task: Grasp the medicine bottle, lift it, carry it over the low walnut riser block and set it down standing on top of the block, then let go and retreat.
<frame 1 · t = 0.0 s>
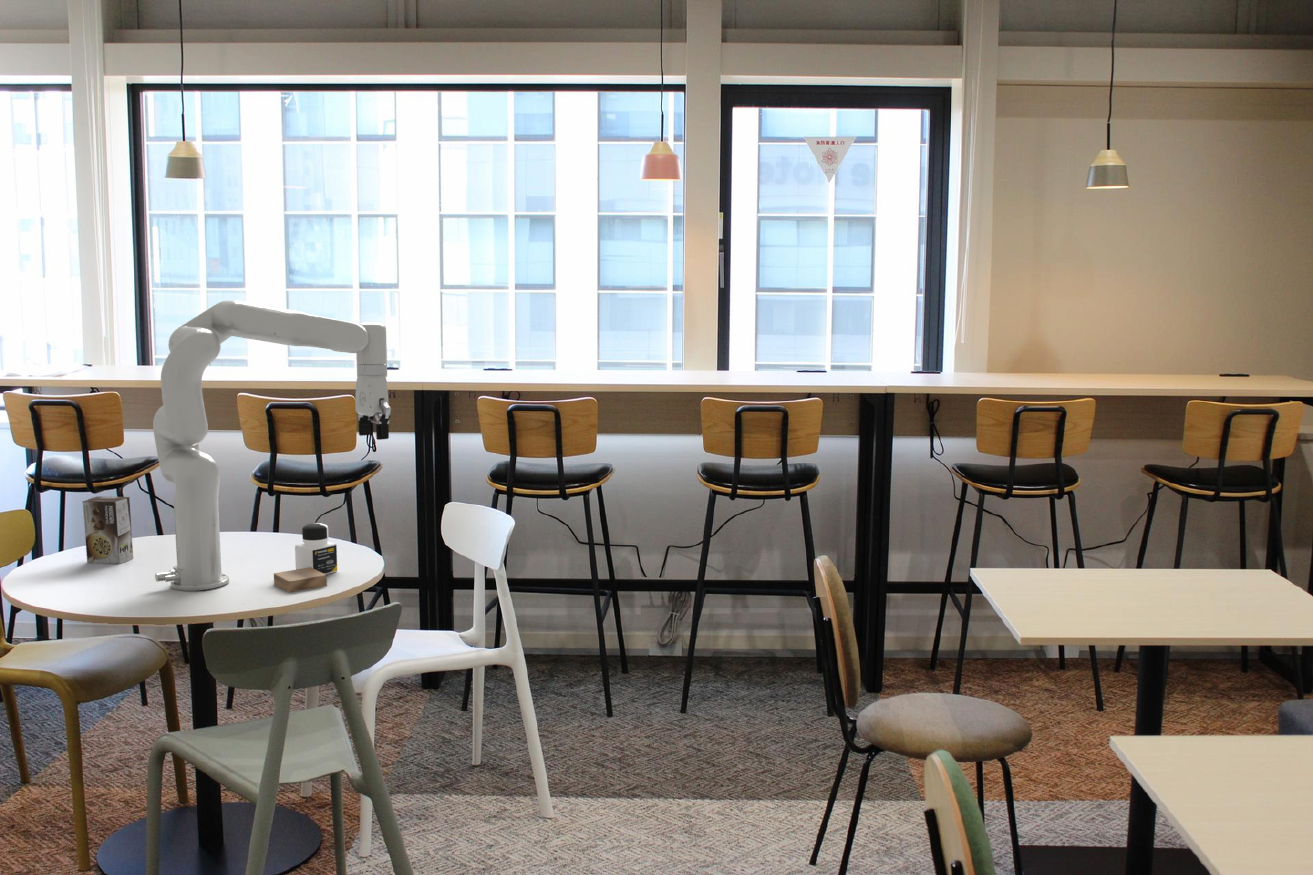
hand: (373, 437, 279), 31 cm above the table, fingers open, 9 cm apart
walnut riser block: (300, 586, 254), on the table
coffee box: (110, 561, 275), on the table
medicine bottle: (316, 573, 265), on the table
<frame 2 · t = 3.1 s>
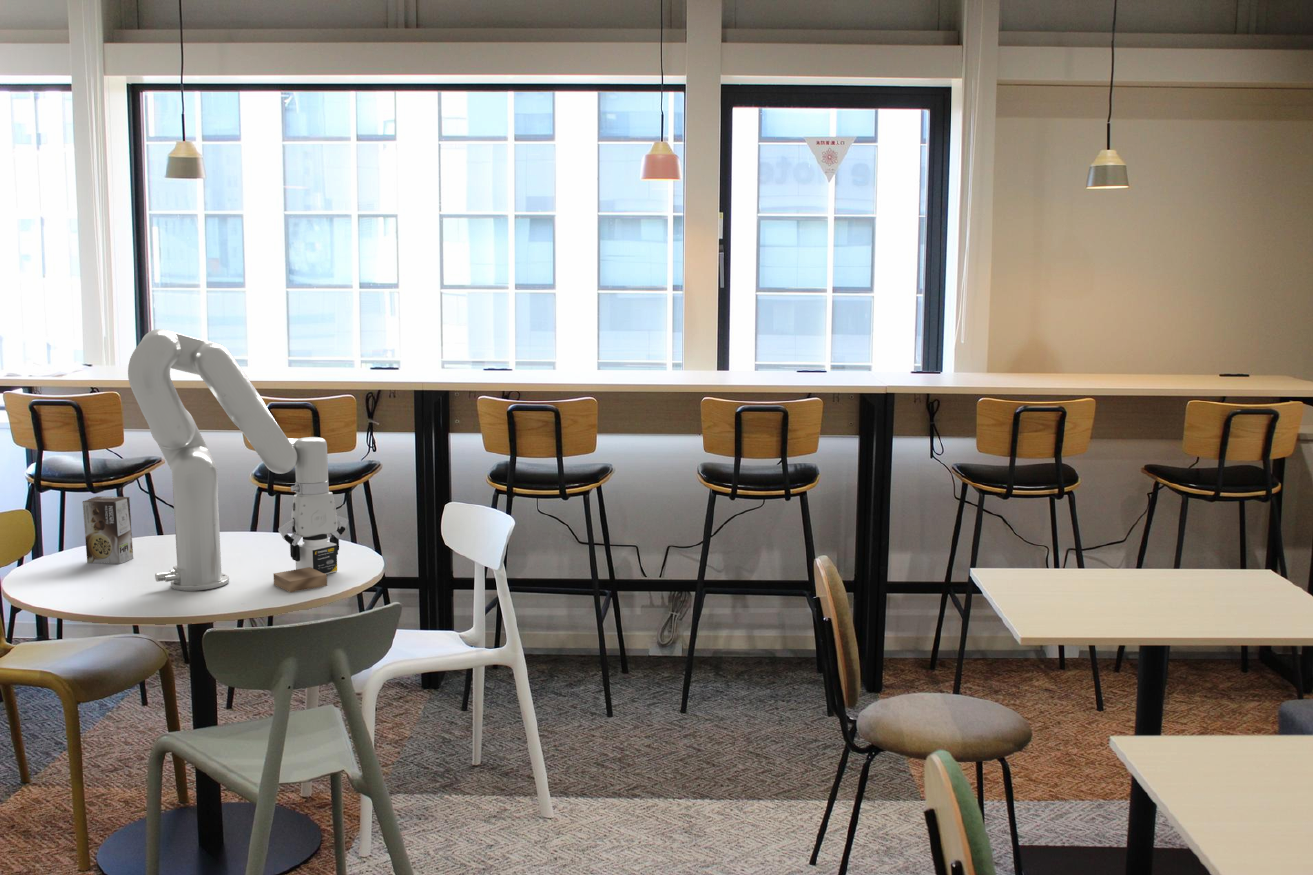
hand: (315, 557, 264), 4 cm above the table, fingers open, 9 cm apart
medicine bottle: (316, 573, 265), on the table, touching gripper
everything else where it was.
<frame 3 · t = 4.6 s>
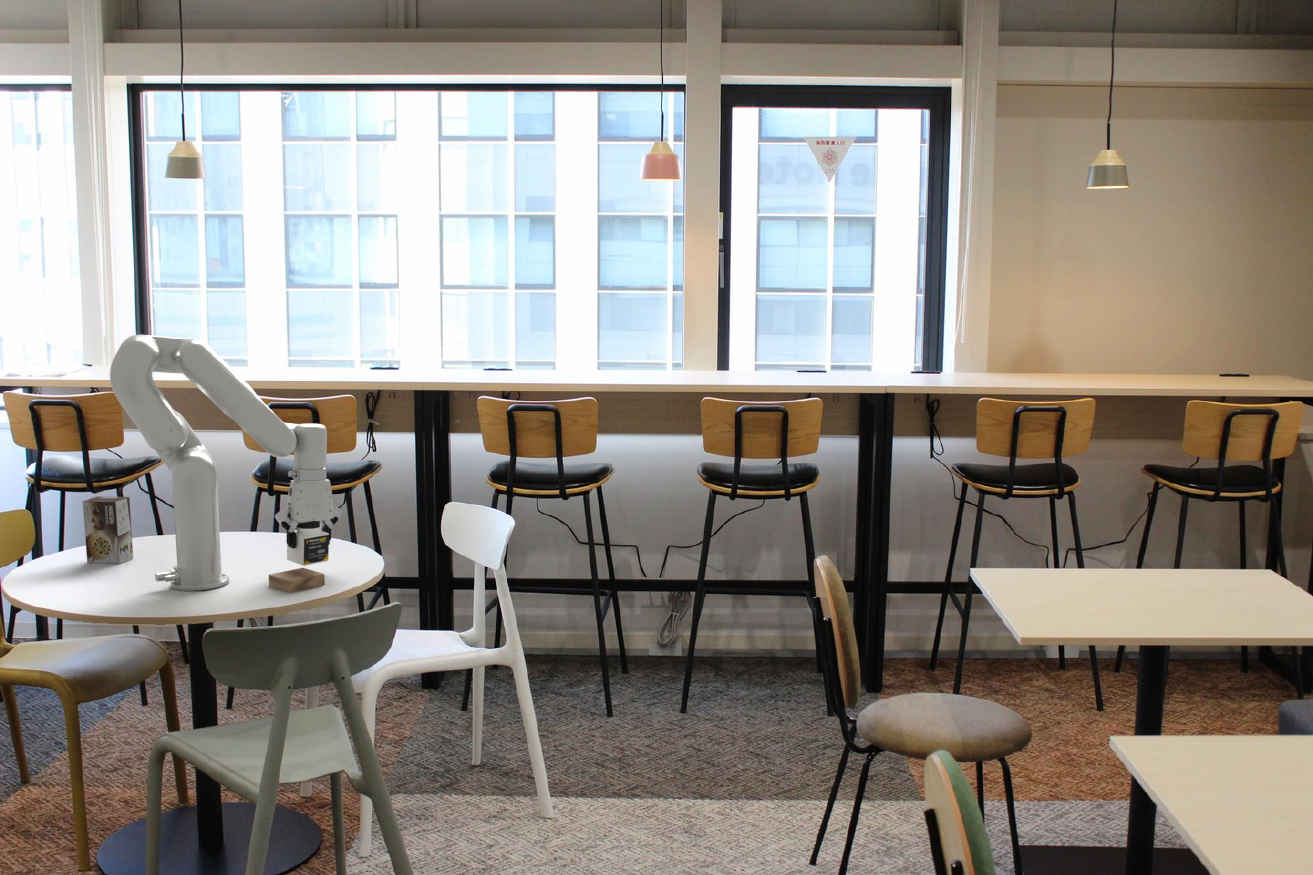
hand: (309, 545, 263), 7 cm above the table, fingers closed on medicine bottle, 8 cm apart
medicine bottle: (307, 561, 264), point 3 cm above the table, touching gripper
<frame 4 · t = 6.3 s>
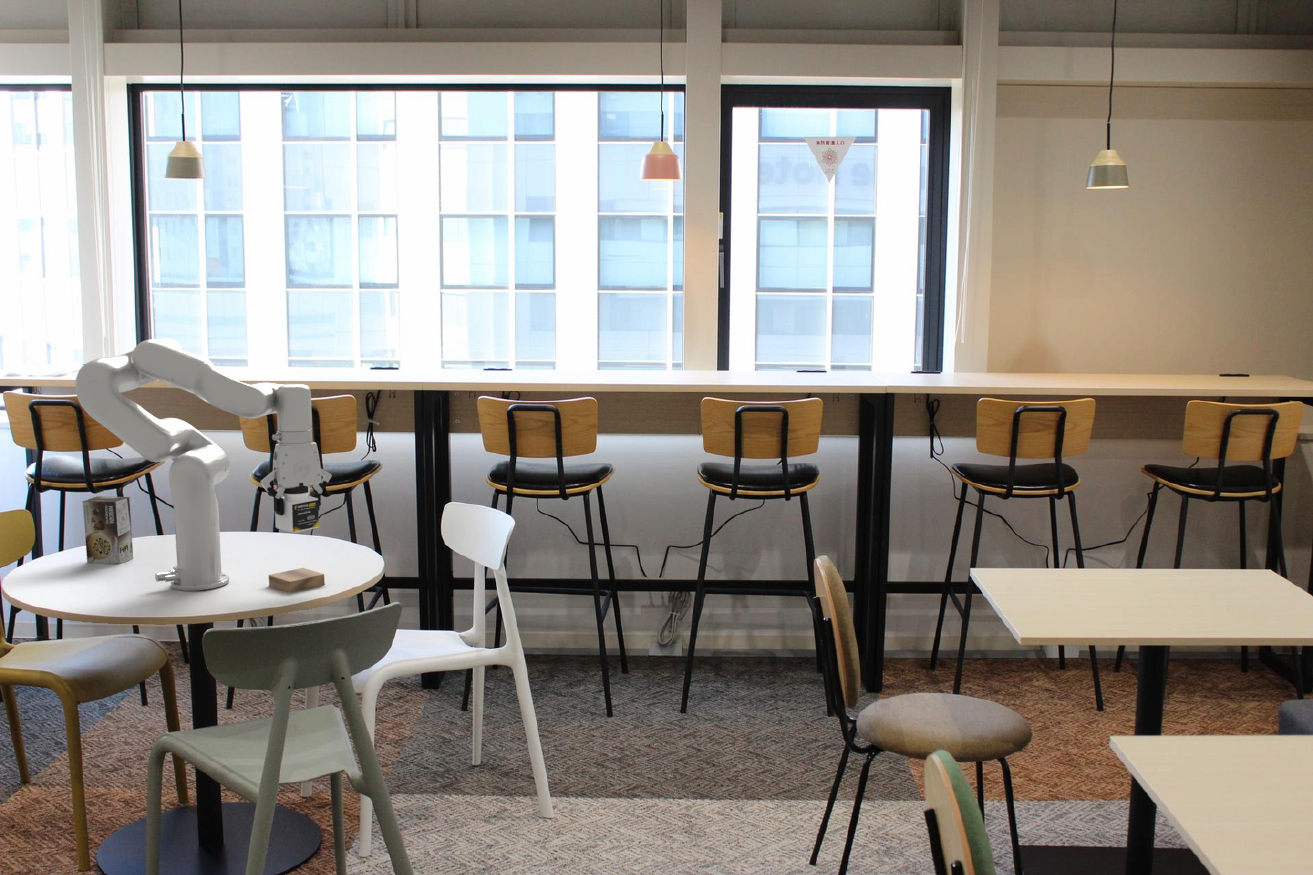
hand: (297, 511, 252), 17 cm above the table, fingers closed on medicine bottle, 8 cm apart
medicine bottle: (297, 528, 253), point 13 cm above the table, touching gripper
everything else where it was.
when the fingers open (7 cm above the table, at t = 9.1 s): medicine bottle stays where it is, resting on walnut riser block.
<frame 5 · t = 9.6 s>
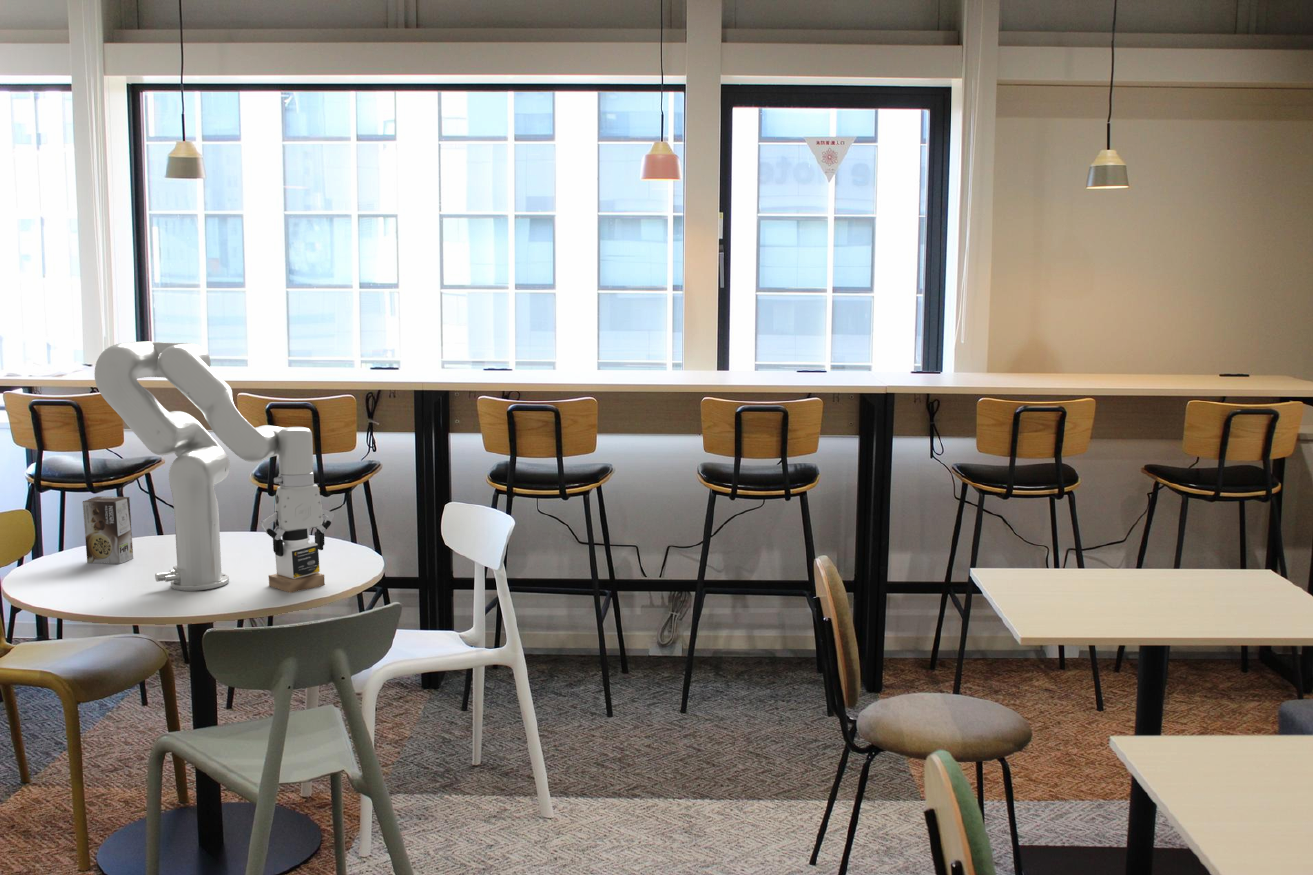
hand: (299, 552, 253), 8 cm above the table, fingers open, 9 cm apart
walnut riser block: (297, 587, 254), on the table, touching medicine bottle
medicine bottle: (298, 574, 254), point 2 cm above the table, touching walnut riser block
everything else where it was.
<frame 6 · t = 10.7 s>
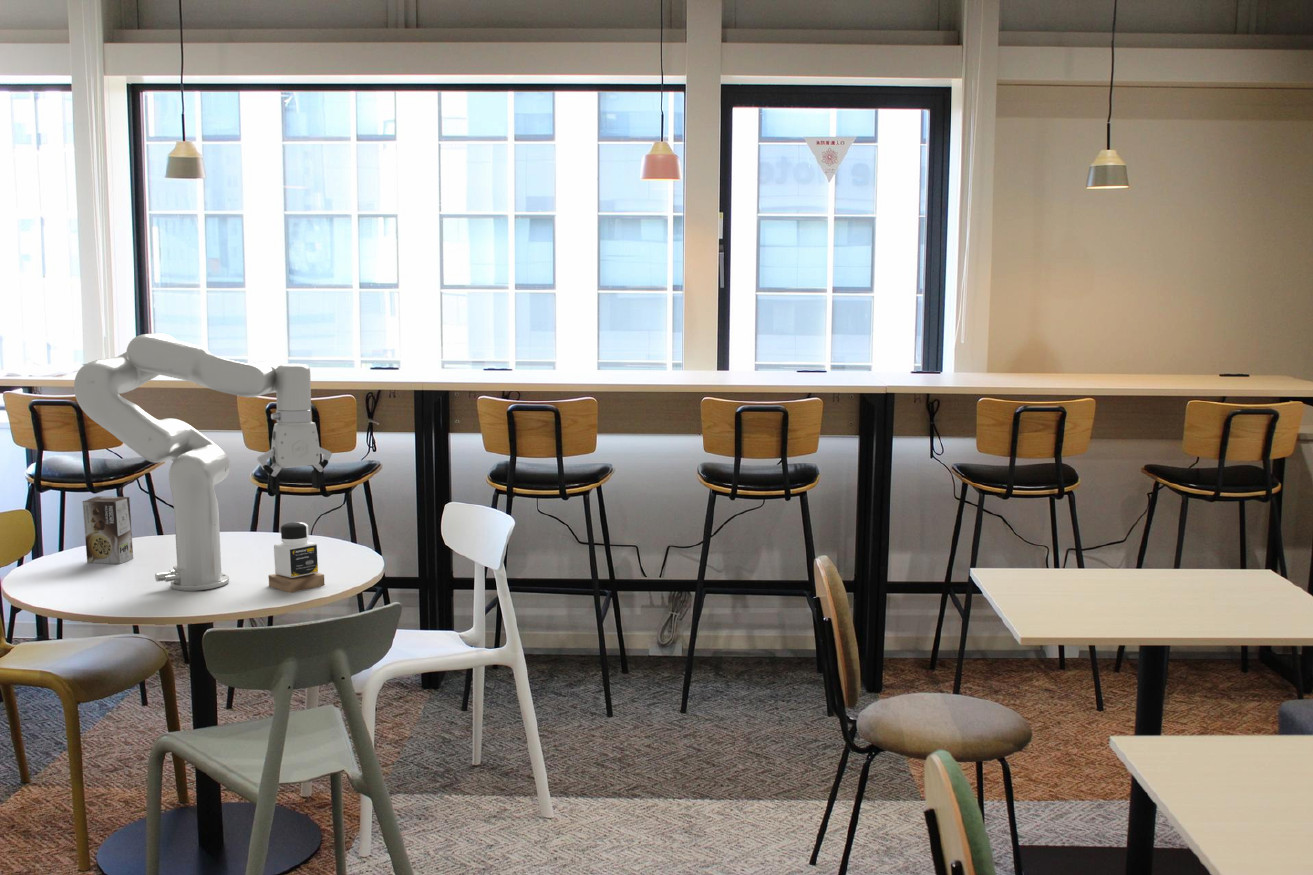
hand: (296, 490, 251), 23 cm above the table, fingers open, 9 cm apart
nothing on the table moved.
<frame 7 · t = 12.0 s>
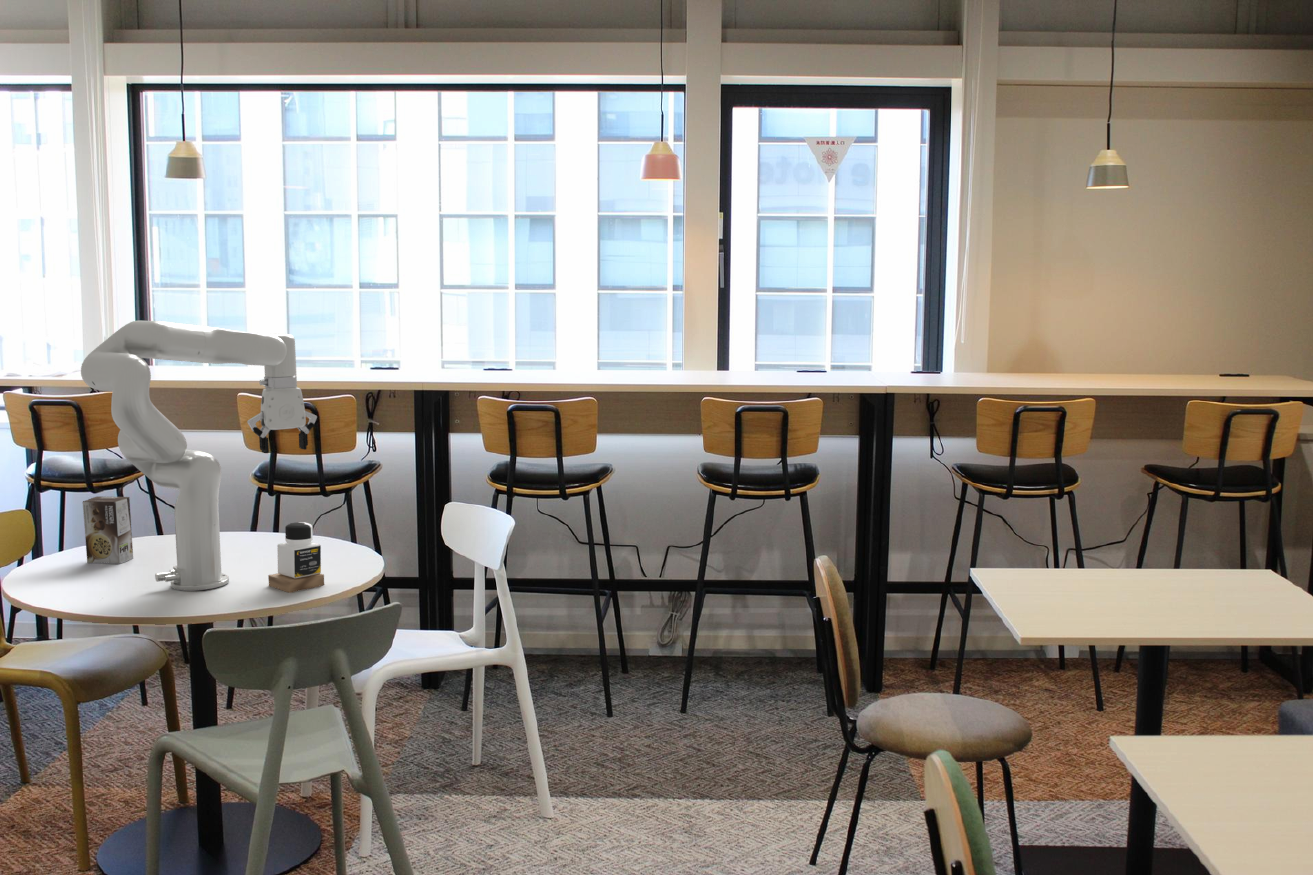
hand: (284, 450, 273), 28 cm above the table, fingers open, 9 cm apart
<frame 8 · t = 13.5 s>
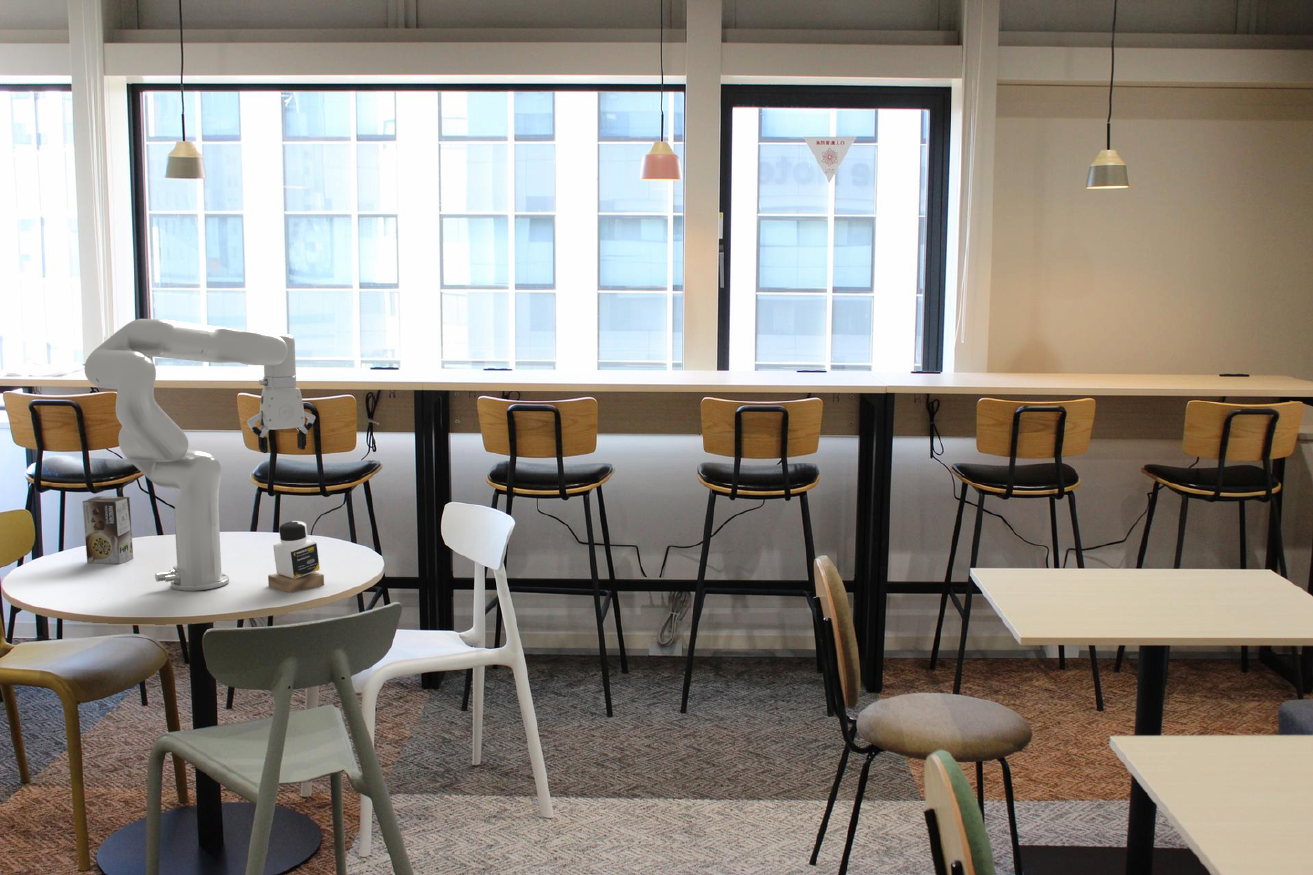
hand: (283, 450, 273), 28 cm above the table, fingers open, 9 cm apart
walnut riser block: (296, 587, 253), on the table
medicine bottle: (298, 572, 254), point 3 cm above the table
everything else where it was.
at the end: medicine bottle 0.9 cm off-centre on the walnut riser block, point 3.3 cm above the walnut riser block's base; medicine bottle tilted 7°; the gripper is holding nothing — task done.
